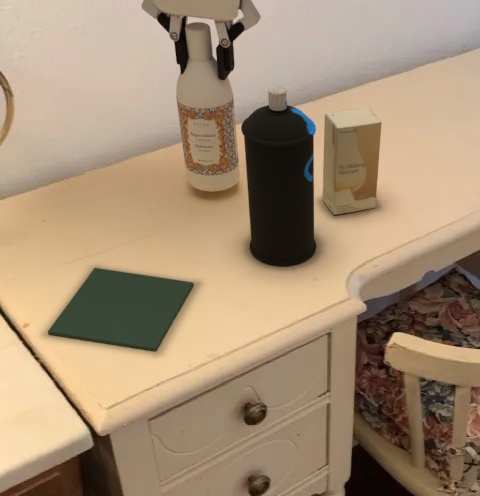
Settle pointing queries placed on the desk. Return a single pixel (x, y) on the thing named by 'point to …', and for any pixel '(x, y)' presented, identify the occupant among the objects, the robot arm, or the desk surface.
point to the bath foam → (206, 116)
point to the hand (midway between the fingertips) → (206, 71)
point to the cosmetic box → (351, 160)
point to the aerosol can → (280, 181)
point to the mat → (122, 309)
